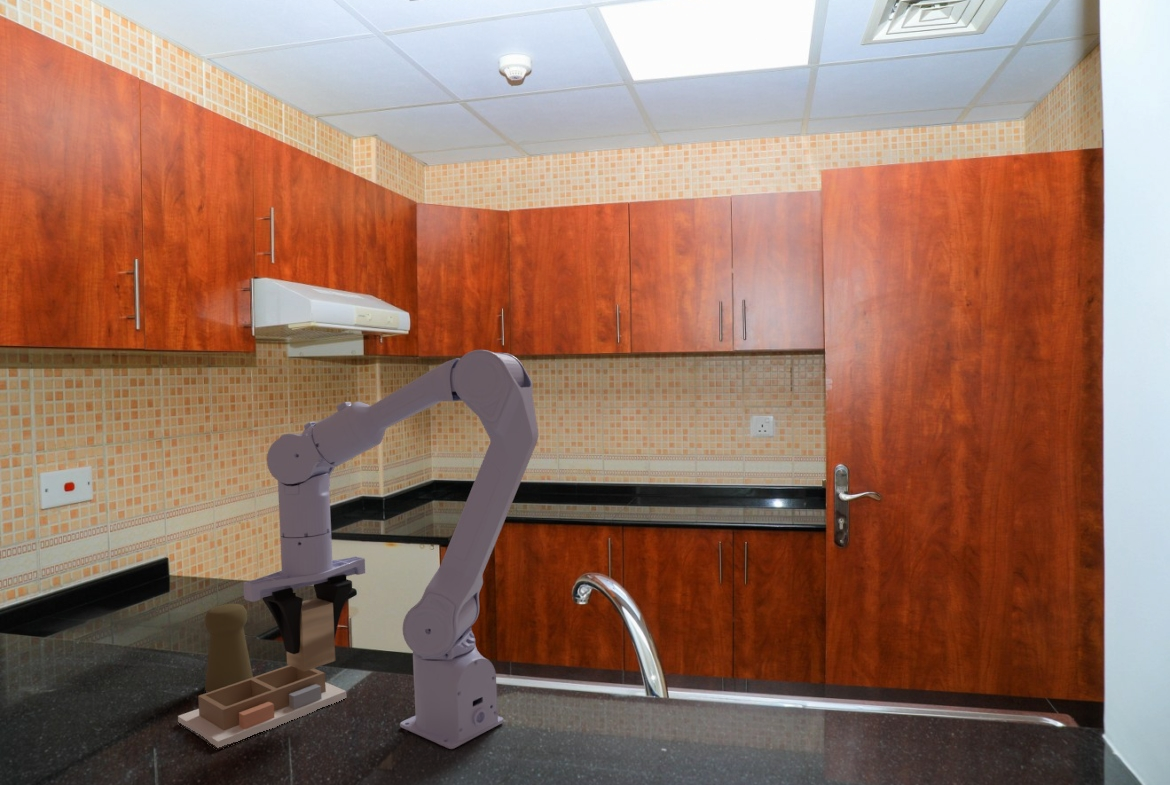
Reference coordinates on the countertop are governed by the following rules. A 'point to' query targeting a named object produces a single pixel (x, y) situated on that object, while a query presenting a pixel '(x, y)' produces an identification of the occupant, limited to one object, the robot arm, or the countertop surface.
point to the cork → (226, 647)
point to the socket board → (260, 704)
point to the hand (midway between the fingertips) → (310, 645)
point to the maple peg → (314, 635)
